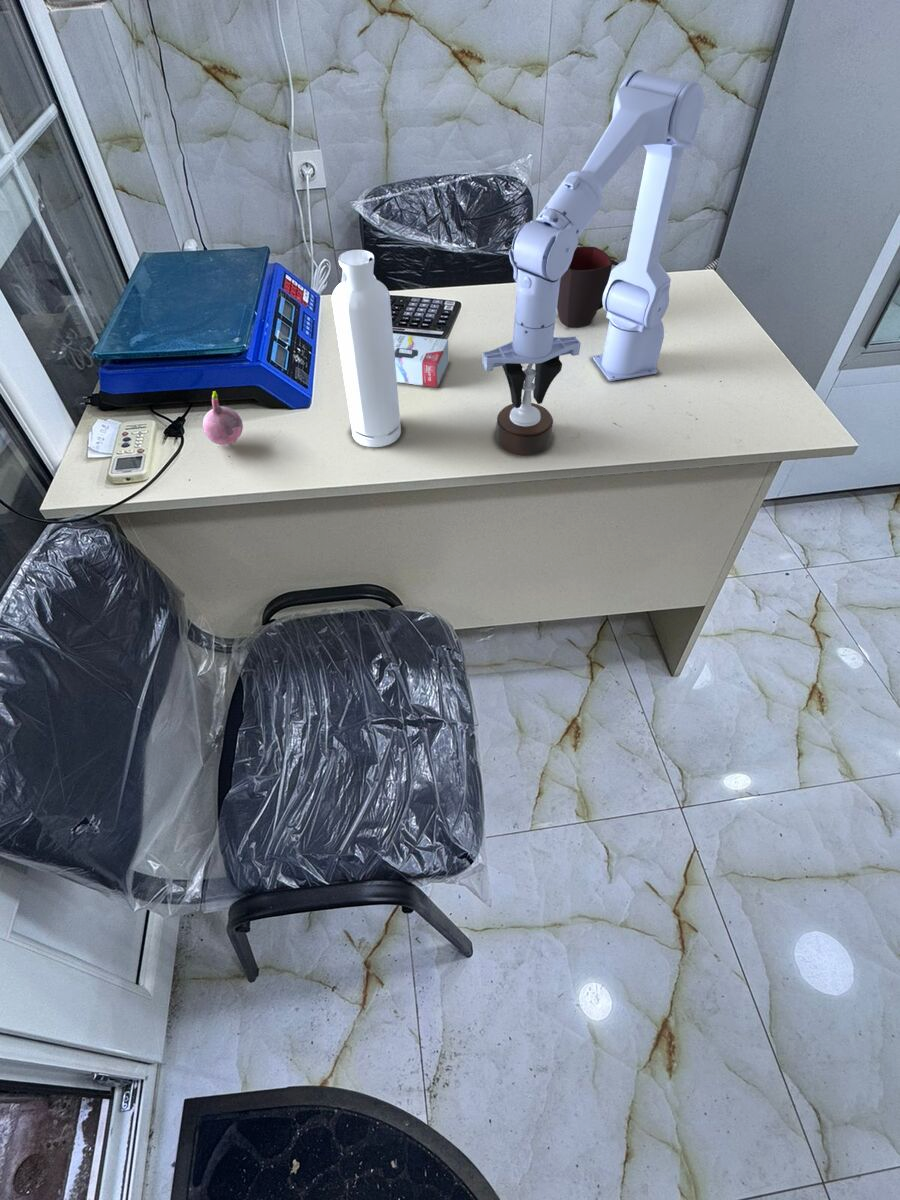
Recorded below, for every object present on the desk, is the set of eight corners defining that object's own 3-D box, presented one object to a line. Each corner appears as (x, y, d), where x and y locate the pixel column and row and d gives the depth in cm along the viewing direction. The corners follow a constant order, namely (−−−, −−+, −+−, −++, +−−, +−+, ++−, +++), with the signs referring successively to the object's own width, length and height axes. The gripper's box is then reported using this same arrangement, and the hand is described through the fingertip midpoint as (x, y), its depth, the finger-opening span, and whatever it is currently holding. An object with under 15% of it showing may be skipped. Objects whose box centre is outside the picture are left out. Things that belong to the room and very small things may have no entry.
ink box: (437, 364, 111) (372, 356, 112) (437, 389, 115) (374, 380, 116) (448, 338, 116) (386, 330, 118) (448, 362, 120) (388, 355, 121)
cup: (542, 311, 131) (549, 250, 122) (605, 302, 133) (616, 241, 124) (560, 336, 125) (568, 273, 116) (625, 326, 127) (639, 264, 118)
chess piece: (544, 412, 103) (551, 355, 96) (534, 429, 101) (541, 372, 93) (515, 405, 105) (520, 348, 97) (505, 422, 102) (509, 365, 94)
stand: (539, 417, 109) (542, 397, 106) (558, 450, 104) (561, 429, 101) (489, 426, 108) (490, 405, 105) (505, 459, 102) (507, 439, 99)
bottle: (406, 442, 105) (393, 266, 83) (357, 451, 104) (331, 275, 82) (394, 413, 110) (379, 240, 88) (348, 422, 109) (320, 248, 87)
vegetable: (234, 461, 103) (215, 407, 95) (202, 451, 104) (181, 398, 96) (255, 439, 106) (239, 385, 98) (225, 430, 108) (206, 376, 100)
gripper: (571, 297, 93) (559, 380, 104) (476, 312, 91) (474, 396, 101) (591, 320, 89) (577, 405, 100) (493, 337, 87) (489, 422, 97)
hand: (526, 402), depth 100 cm, fingers open, 3 cm apart
